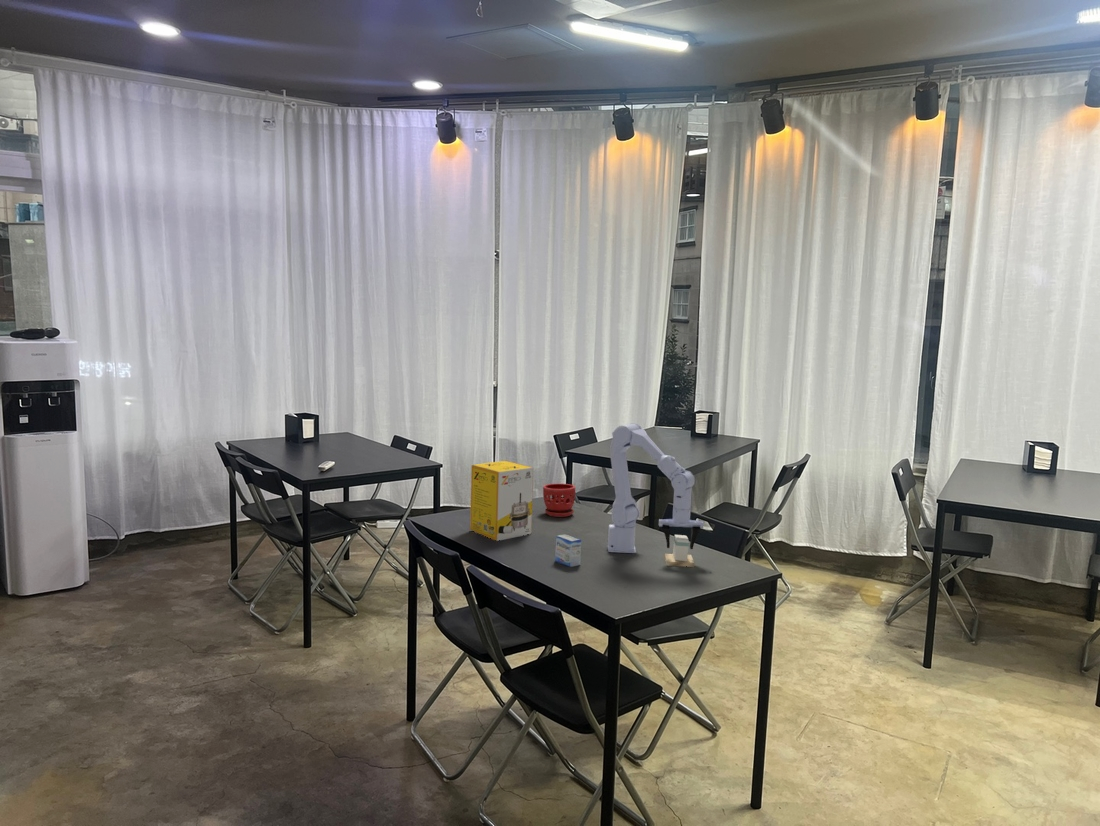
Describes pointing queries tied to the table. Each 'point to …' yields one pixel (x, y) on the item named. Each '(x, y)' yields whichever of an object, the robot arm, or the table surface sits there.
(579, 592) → the table surface
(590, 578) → the table surface
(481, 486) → the packaging box
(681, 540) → the carton block
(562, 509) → the plant pot
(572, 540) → the medicine box
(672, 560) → the oak block
